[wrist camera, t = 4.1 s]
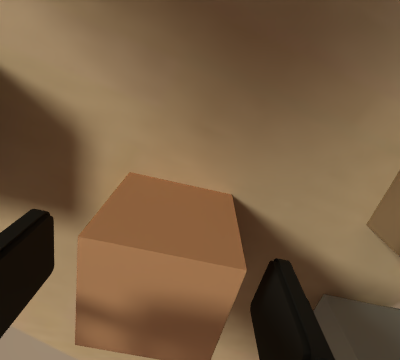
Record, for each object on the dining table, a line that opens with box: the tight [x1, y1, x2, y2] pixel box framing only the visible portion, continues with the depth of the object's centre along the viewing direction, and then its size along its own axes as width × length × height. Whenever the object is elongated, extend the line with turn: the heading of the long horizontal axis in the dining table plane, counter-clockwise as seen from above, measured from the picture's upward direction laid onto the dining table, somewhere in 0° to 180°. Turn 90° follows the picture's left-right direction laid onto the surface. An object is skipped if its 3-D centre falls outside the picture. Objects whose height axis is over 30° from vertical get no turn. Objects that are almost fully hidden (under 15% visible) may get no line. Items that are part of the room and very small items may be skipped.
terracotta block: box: [75, 172, 247, 360], centre depth 10 cm, size 5×5×5 cm
